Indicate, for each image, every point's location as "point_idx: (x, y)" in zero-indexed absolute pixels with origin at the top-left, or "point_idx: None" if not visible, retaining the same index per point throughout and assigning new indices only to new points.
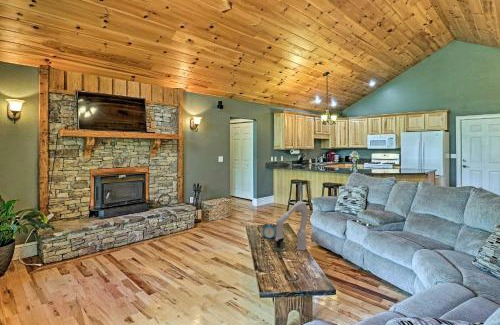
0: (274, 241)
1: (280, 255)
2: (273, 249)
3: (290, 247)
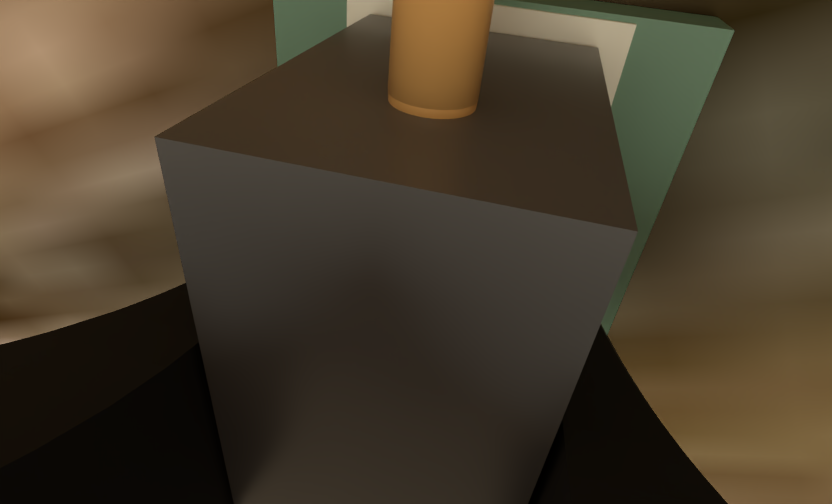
0: (197, 154)
1: (80, 291)
2: (284, 2)
3: (771, 478)
